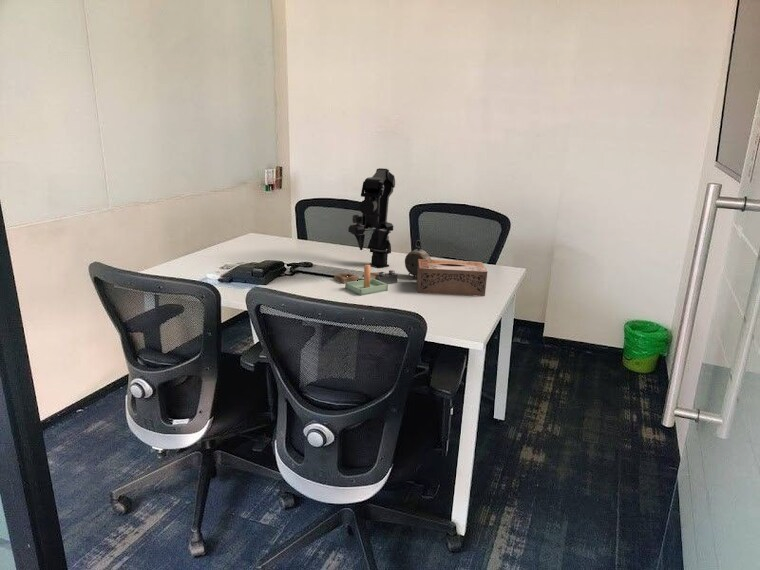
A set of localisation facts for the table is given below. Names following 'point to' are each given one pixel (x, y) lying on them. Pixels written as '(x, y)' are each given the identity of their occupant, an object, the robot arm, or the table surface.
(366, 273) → the dowel
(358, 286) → the tray
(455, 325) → the table surface
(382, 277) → the grey boxy piece
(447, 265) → the tissue box cover
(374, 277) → the tan rectangular slab
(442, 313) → the table surface
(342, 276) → the socket block
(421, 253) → the alarm clock
